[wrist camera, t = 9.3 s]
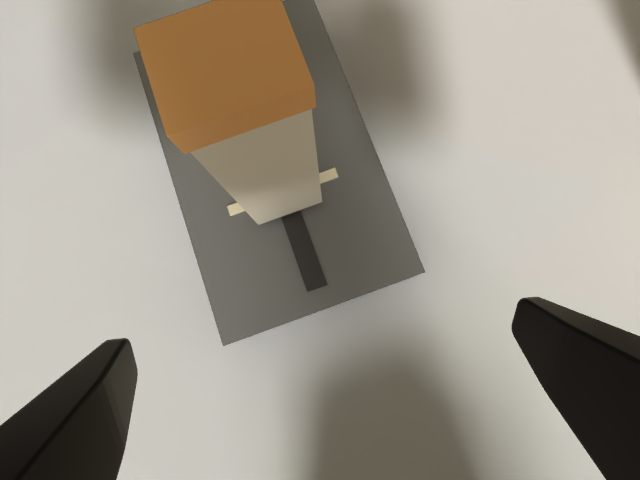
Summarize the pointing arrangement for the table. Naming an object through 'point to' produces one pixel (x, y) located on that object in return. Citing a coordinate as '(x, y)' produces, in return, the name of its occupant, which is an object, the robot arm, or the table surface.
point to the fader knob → (238, 100)
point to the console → (296, 213)
